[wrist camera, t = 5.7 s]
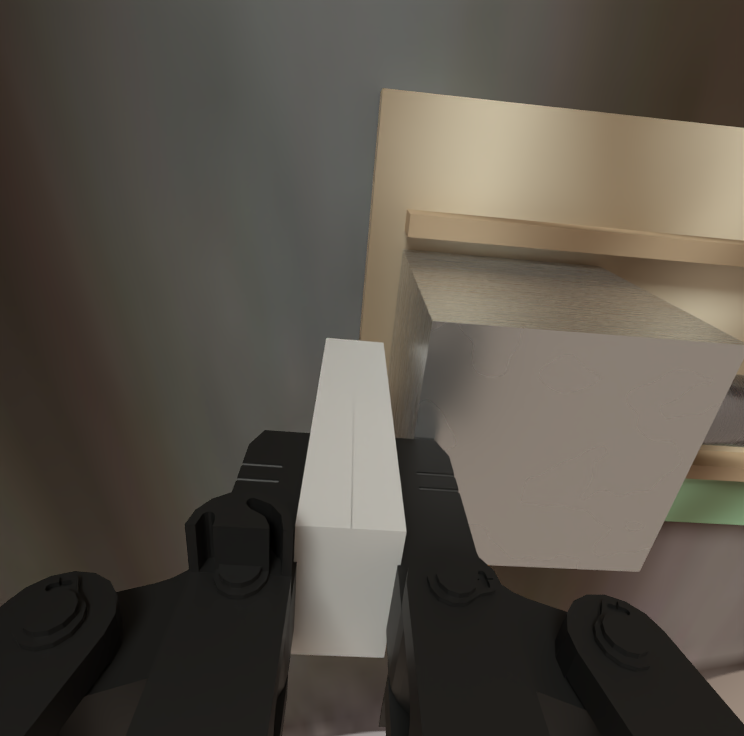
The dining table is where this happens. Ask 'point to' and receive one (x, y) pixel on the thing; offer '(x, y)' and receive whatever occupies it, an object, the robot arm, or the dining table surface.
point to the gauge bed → (568, 218)
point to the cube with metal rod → (558, 402)
